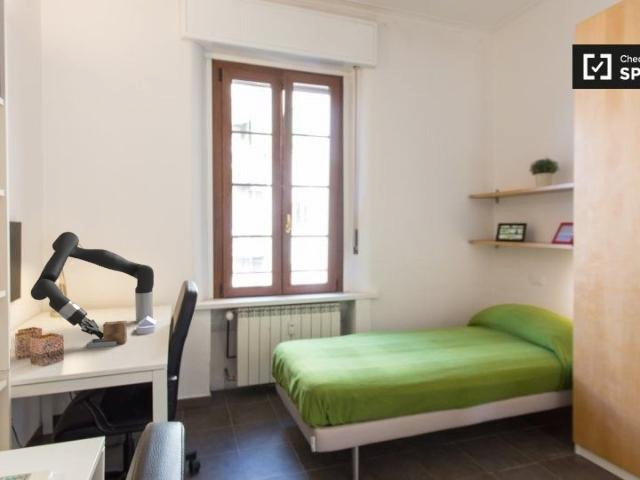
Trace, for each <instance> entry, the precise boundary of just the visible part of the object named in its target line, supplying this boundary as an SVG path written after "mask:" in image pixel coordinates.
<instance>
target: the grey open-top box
mask: <svg viewBox="0 0 640 480" xmlns="http://www.w3.org/2000/svg"><path fill="white" fill-rule="evenodd" d="M115 345H116V346H117V341H110V342H103V338H102V339H100V338H99V337H97V338H91V339H90V340H89V341H88V342H87V344H86V347H87V349H90V348H103V347H114V346H115Z"/></svg>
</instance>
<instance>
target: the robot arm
mask: <svg viewBox="0 0 640 480" xmlns="http://www.w3.org/2000/svg"><path fill="white" fill-rule="evenodd" d="M79 243H80V240H79V236H78V235H77V234H76V233H73V232H71V231H65V232H62V233H60V234H59V235H58V237H56V239H55V240H54V241H53V243H52V244H51V246H52V249H53V251H54V252H53V254H52V255H51V256H50V258H49V259H48V261H47V262H46V264H45V265H44V267H43V269H42V271H41V273H40V275H39V277H38V278H37V281H35V283H34V285H33V286H32V288H31V290H30V296H31V298H32V299H34V300H36V301H43V300H45V299H47V298H48V300H49V303H48V306H49V307H50V308H51V309H52V310H53V311H55V312H56V313H58V315H60V317H61V318H63V319H65V320H66V321H67V322H68V323H69V324H71V325H72V326H73V327H75V326H77V325H78V326H79V327H80V328H81V331H82V332H84V333H86V334H89V335H90V336H91V335H95V336H96V337H97V338H100V339H102V338H103V331H101V330H100V327H99V325H98V324H97V323H96V321H95V319H90V318H88V317H87V316H88V312H87V311H85V310H84V309H83V308H82V307H81V306H79V305H78V304H77V303H76V302H73V301H71V299H69V298H68V297H67V296H66V295H64V293H63V291H62V290H61V289H60V288H59V286H58V285H57V284H56V282H57V281H58V279H59V277H60V275H61V273H62V271H63V269H64V266H65V264H66V263H67V260H68V258H72V259H78V260H80V261H84V262H87V263H91V264H93V265H96V266H98V267H101V268H103V269H107V270H111V271H114V272H119V273H123V274H126V275H128V276H129V277H132V278H134V279H136V280H137V281H136V287H135V289H134V293H135V294H134V296H135V298H134V301H135V302H134V305H135V323H136V324H138V323H139V322H140V321H141V320H143V319H144V318H145V317H147V316H149V317H151V318H152V319H154V312H153V311H154V308H153V307H154V305H153V304H154V302H153V298H154V297H153V292H154V291H153V290H154V289H153V288H154V285H155V284H154V281H155V280H154V278H155V273H154V272H155V271H154V269H153V268H152V266H150V265H146V264H141V263H137V262H133V261H131V260H128V259H126V258H124V257H123V256H121V255H119V254H117V253H115V252H112V251H110V250H108V249H107V250H106V249H103V248H84V247H83V248H82V247H80V246H79Z"/></svg>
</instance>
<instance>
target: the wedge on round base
mask: <svg viewBox="0 0 640 480" xmlns="http://www.w3.org/2000/svg"><path fill="white" fill-rule="evenodd" d="M156 325H157V320H156V319H154V318H153V319H152V318H151V317H149V316H147V317H145V318H144V319H143V320H141V321H140V322H139V323H137V325H136V334H137V335H150V334H154V333H155V332H156Z"/></svg>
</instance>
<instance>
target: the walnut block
mask: <svg viewBox="0 0 640 480" xmlns="http://www.w3.org/2000/svg"><path fill="white" fill-rule="evenodd" d="M127 328H128V327H127V320H115V321H105V322H104V323H103V325H102V333H103V342H110V341H117V344H119V345H125V344H126V343H127V341H128V336H127V335H128V334H127V333H128V329H127Z"/></svg>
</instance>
